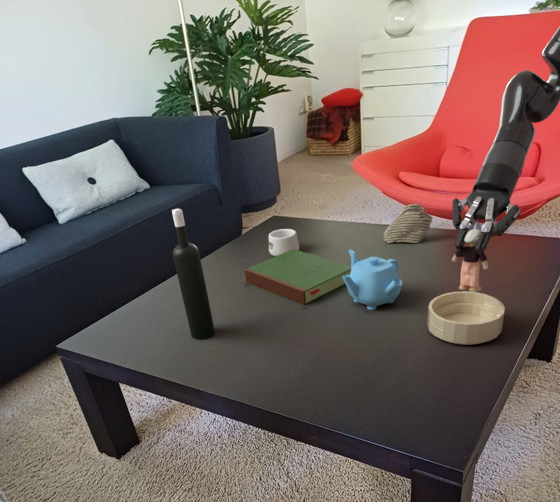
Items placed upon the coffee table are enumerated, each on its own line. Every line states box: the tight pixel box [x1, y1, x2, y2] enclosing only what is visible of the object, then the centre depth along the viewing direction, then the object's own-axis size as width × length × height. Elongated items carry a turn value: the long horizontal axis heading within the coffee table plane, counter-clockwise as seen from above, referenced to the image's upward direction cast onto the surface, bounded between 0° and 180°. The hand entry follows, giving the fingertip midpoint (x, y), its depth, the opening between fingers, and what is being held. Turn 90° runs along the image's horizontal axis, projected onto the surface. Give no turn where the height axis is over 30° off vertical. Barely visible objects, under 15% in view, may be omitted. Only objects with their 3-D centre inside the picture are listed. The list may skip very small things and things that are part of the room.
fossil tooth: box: [383, 203, 434, 244], centre depth 160 cm, size 12×6×15 cm
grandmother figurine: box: [451, 228, 489, 293], centre depth 107 cm, size 8×4×13 cm, turn 59°
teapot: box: [342, 248, 403, 311], centre depth 128 cm, size 15×14×11 cm
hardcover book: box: [244, 249, 351, 306], centre depth 145 cm, size 25×19×4 cm
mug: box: [268, 228, 300, 257], centre depth 166 cm, size 12×10×6 cm
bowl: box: [427, 290, 506, 346], centre depth 114 cm, size 15×15×6 cm
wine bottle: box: [171, 207, 216, 340], centre depth 118 cm, size 6×6×30 cm
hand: (468, 250), depth 104 cm, fingers closed on grandmother figurine, 3 cm apart
